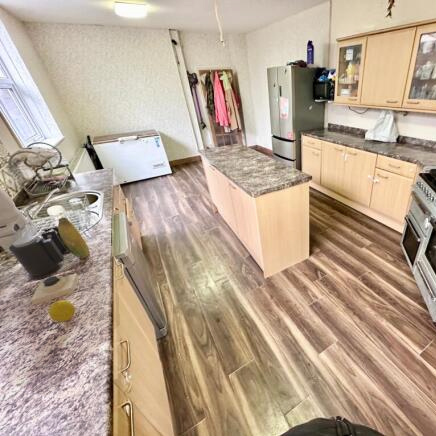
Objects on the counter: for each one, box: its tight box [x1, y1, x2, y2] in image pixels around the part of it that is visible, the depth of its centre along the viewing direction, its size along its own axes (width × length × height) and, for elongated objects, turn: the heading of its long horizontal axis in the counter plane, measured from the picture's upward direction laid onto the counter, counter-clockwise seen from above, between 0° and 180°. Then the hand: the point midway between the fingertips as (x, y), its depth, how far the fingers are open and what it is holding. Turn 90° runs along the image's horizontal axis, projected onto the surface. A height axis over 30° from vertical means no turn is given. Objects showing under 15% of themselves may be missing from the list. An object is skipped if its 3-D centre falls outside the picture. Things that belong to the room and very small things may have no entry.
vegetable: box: [57, 216, 90, 259], centre depth 98 cm, size 6×6×20 cm
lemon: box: [48, 299, 76, 323], centre depth 72 cm, size 6×6×8 cm
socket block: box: [30, 272, 80, 306], centre depth 85 cm, size 11×9×4 cm
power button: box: [42, 275, 59, 287], centre depth 84 cm, size 4×4×2 cm
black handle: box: [40, 225, 72, 256], centre depth 105 cm, size 12×9×12 cm
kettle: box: [9, 235, 65, 282], centre depth 92 cm, size 12×10×16 cm
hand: (32, 249), depth 102 cm, fingers closed on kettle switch, 5 cm apart
